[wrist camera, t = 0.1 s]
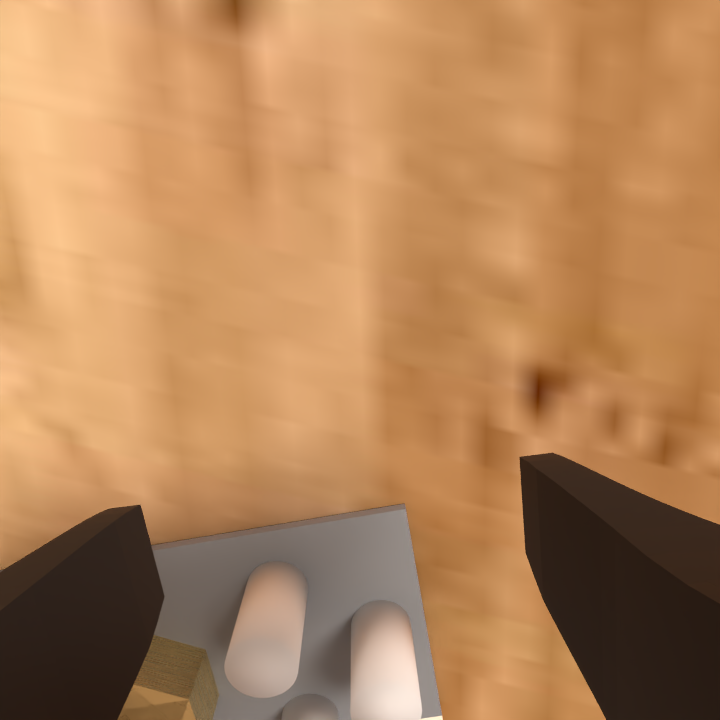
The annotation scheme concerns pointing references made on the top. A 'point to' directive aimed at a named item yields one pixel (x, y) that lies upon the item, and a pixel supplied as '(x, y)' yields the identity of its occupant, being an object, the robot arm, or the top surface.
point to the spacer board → (305, 618)
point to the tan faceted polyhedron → (172, 684)
